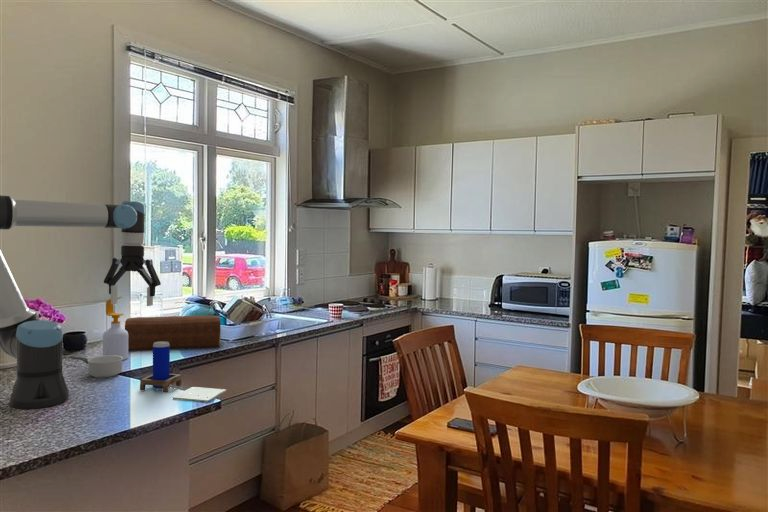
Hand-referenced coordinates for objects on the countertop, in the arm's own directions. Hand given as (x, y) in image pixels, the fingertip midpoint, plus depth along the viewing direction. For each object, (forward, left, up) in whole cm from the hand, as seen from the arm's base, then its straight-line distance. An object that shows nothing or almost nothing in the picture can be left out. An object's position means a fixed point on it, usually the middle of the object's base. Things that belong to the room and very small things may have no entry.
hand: (131, 304), depth 203 cm
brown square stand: (-13, -20, -25) cm, 34 cm away
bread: (+46, +11, -25) cm, 54 cm away
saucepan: (-3, +12, -25) cm, 28 cm away
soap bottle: (+18, +19, -25) cm, 36 cm away
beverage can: (-13, -20, -25) cm, 35 cm away
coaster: (-17, -36, -25) cm, 47 cm away
